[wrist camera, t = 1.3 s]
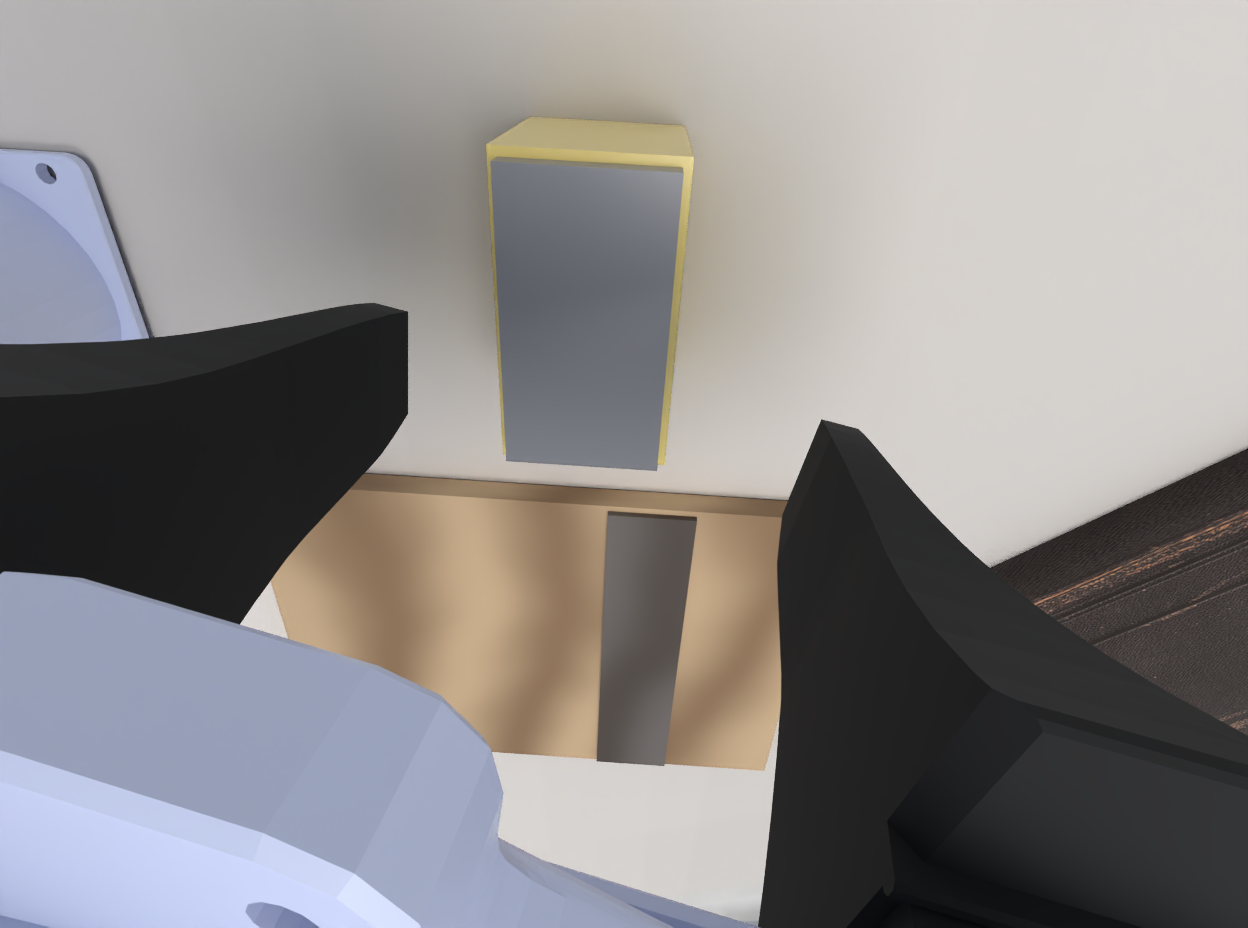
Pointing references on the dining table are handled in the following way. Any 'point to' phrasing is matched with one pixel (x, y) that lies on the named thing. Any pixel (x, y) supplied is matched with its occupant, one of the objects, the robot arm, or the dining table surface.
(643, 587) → the board
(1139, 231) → the dining table surface
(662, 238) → the block
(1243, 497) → the hardcover book
